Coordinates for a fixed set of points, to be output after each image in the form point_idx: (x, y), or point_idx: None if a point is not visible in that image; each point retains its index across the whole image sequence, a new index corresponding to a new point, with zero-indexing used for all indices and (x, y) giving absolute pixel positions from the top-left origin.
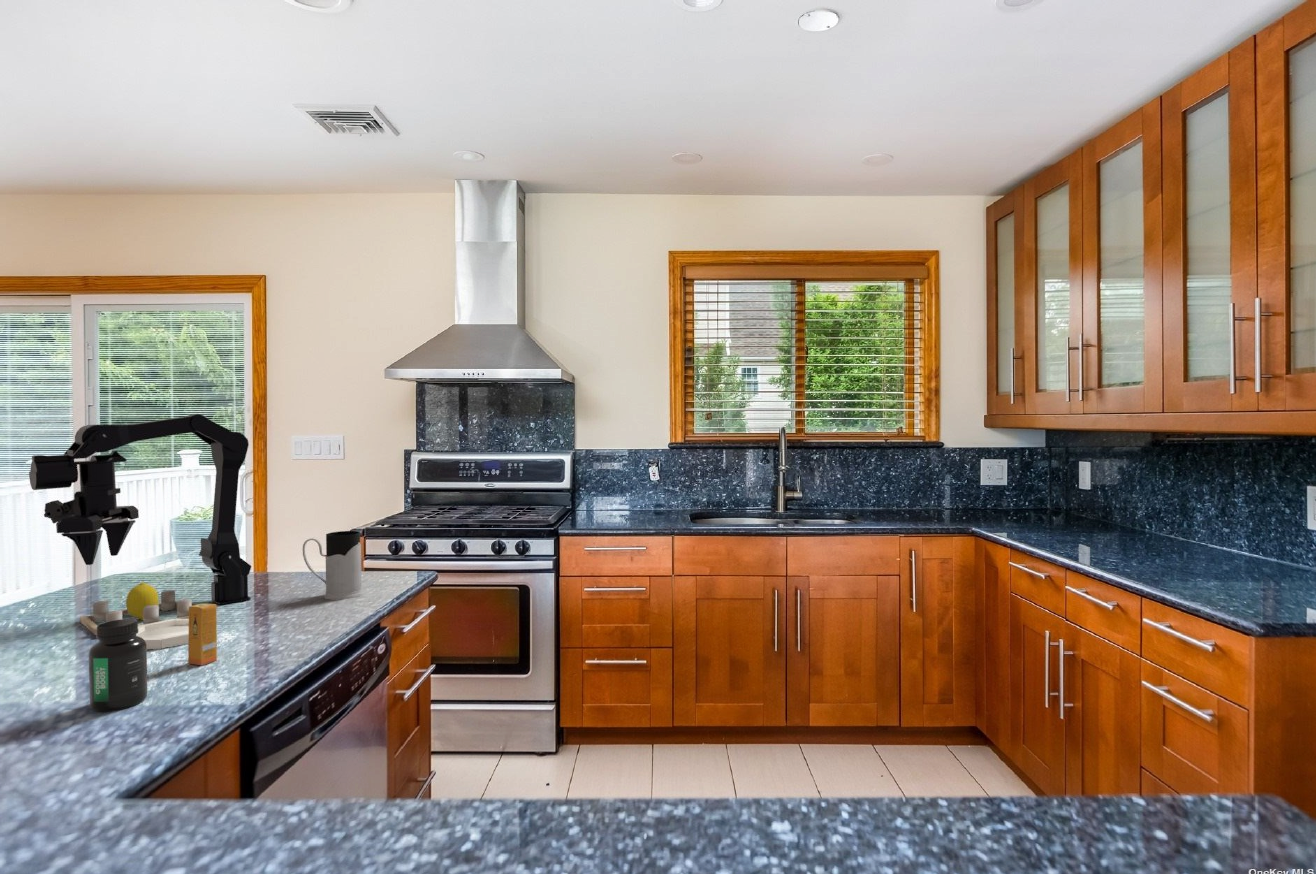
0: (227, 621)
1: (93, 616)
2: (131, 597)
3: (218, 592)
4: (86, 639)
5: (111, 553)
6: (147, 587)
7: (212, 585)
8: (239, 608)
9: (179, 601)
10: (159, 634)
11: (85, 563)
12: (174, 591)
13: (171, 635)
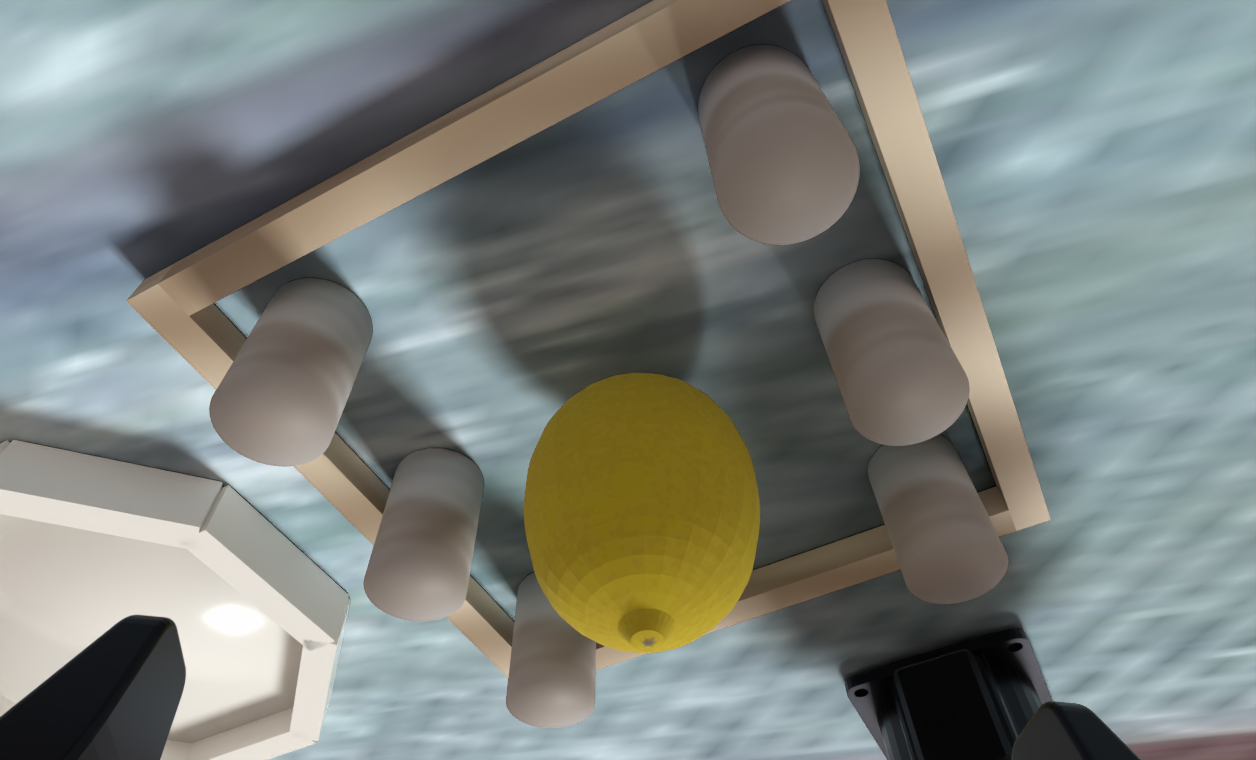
0: (432, 744)
1: (733, 76)
2: (541, 508)
3: (907, 734)
4: (135, 198)
5: (1057, 744)
6: (599, 643)
7: (972, 751)
8: (713, 745)
9: (529, 689)
10: (103, 601)
11: (101, 636)
12: (937, 603)
13: (82, 648)
